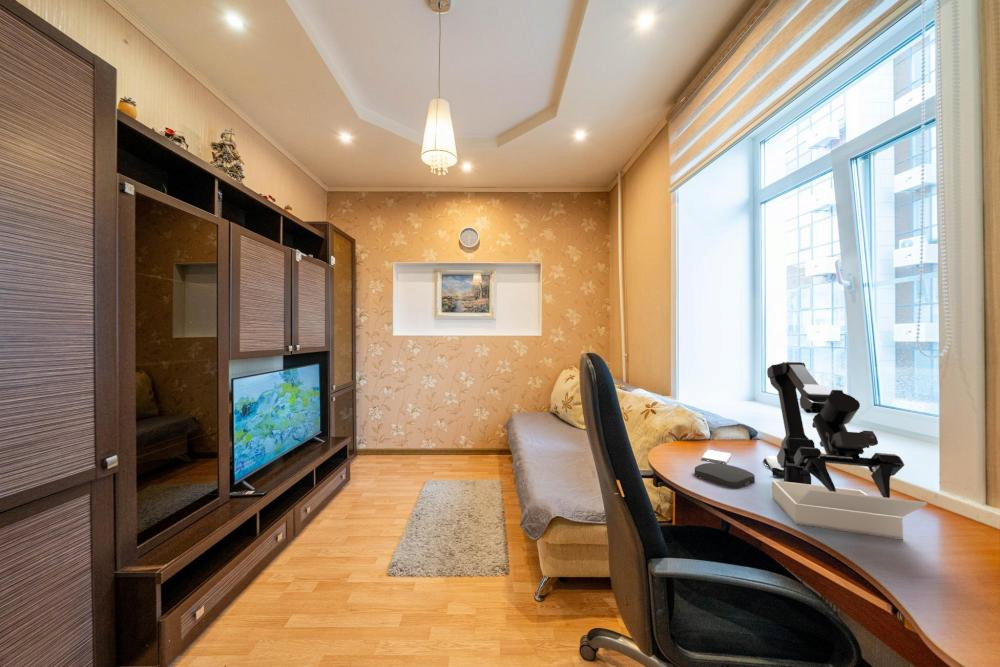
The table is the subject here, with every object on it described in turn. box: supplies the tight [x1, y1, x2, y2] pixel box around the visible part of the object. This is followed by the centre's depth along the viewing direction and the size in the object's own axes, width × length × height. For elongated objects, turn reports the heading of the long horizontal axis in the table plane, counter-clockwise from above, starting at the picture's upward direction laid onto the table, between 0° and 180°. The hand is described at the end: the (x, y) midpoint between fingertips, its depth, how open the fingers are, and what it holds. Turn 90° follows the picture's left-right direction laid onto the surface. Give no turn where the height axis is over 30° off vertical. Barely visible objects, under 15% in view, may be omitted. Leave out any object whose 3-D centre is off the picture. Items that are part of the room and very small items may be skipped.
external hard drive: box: [700, 449, 732, 465], centre depth 138 cm, size 2×8×12 cm
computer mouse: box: [762, 455, 784, 478], centre depth 125 cm, size 10×18×4 cm, turn 162°
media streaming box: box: [694, 462, 756, 489], centre depth 118 cm, size 15×15×3 cm
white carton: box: [771, 479, 904, 540], centre depth 92 cm, size 16×20×5 cm
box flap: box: [796, 489, 928, 518], centre depth 81 cm, size 1×20×10 cm
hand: (860, 496), depth 79 cm, fingers open, 9 cm apart
